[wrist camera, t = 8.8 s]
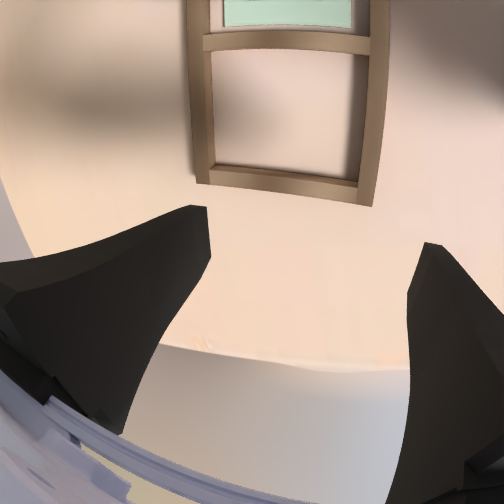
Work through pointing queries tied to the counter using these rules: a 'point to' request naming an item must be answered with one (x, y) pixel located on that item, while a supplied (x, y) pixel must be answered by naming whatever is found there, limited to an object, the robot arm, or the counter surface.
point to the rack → (288, 13)
